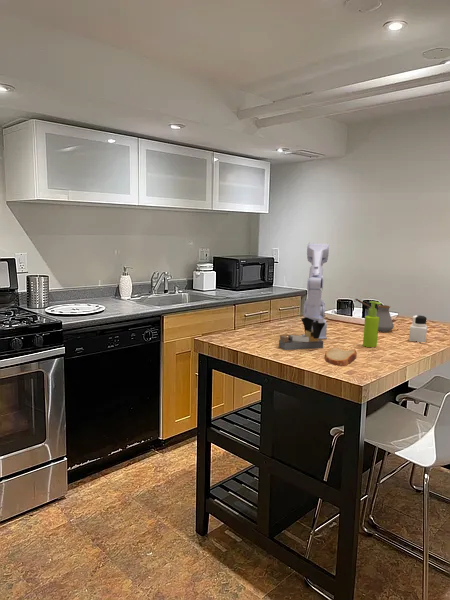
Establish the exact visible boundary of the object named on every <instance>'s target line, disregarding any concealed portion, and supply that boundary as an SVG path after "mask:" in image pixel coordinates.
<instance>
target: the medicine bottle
mask: <svg viewBox="0 0 450 600" xmlns="http://www.w3.org/2000/svg"><path fill="white" fill-rule="evenodd" d="M427 319H428V318H427V316H425V315H421V314H420V315H419V314H418V315H417V314H416V315H413V316H412V322H411V324H410V326H409V337H408V342H410V341H417V342H416V343H418V342H425V343H426V341H427V333H428V325H427Z"/></svg>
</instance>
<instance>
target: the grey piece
mask: <svg viewBox="0 0 450 600" xmlns="http://www.w3.org/2000/svg"><path fill="white" fill-rule="evenodd" d="M288 339H289V338H288V335H285V334H284V335H280V336H279V340H278V347H279V348H281V349H282V350H284V351H287V350H288V351H291V350H293V351H294V350H311V349H312V350H313V349H323V348H324V340H323V339H319V340H318V341H309V342H303V341H289V340H288Z"/></svg>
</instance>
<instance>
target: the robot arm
mask: <svg viewBox="0 0 450 600" xmlns="http://www.w3.org/2000/svg"><path fill="white" fill-rule="evenodd" d="M306 248H307V249H306V256H307V261H308V263H310V264H311V266H310V267H309V276H308V277H307V284H306V285H307V287H306V290H307V298H306V299H305V301H304V302H303V310H302V313H303V314H302V316H303V317H302V318H300V319H301V320H300V321H301V322H302V324H303V327H304V334H301V335H300V336H305V334H306V330H313V337H314V339H317V338H319V339H320V340H324V339H325V340H326V339H327V330H328V329H327V328H328V327H327V326H328V324H327V320H326V319H325V316H326V315H325V314H326V302H325V301H324V300H323V299H322V293H323V292H322V291H323V290H324V268H323V266H324V264H325V263H327V262H328V260H329V251H330V244H329V243H328V242H327V243H318V242H317V243H315V242H313V243H312V242H308V243H307V247H306Z"/></svg>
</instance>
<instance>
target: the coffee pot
mask: <svg viewBox="0 0 450 600" xmlns="http://www.w3.org/2000/svg"><path fill="white" fill-rule="evenodd" d="M354 301H356V302H359V303H360V304H361V305H364V306H365V307H367V308H368V309H370V308H371V305H369V304H367V303H366V302H365V301H361V300H360V299H358V298H355V299H354ZM376 305H377V304H376ZM377 308H378V309H377V312H376V316H377V317H379V325H378V331H381V332H380V333H389V332H388V331H392V330H393V329H394V328H395V325H394V322H393V320H392V316H391V313H390V308H391V306H390V305H383V304H381V305H377Z"/></svg>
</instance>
